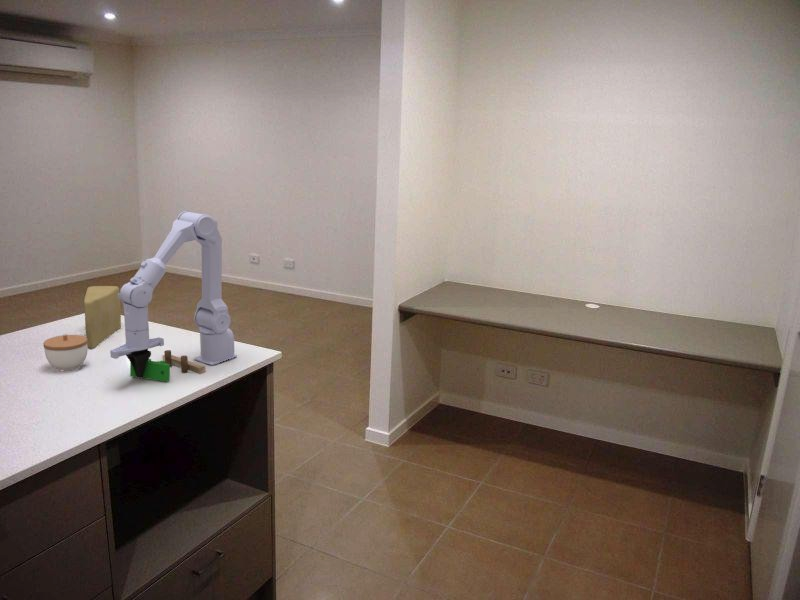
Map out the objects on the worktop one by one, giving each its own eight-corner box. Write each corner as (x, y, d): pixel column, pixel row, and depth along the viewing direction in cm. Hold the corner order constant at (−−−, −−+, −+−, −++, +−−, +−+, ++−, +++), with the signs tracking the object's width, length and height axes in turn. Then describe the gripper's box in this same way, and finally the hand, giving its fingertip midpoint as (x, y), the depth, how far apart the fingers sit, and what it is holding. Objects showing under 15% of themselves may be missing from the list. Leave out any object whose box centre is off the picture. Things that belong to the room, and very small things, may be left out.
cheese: (108, 349, 185) (104, 301, 181) (73, 350, 182) (68, 302, 178) (122, 327, 205) (119, 284, 202) (91, 328, 203) (87, 284, 199)
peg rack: (168, 359, 178) (167, 344, 177) (205, 372, 170) (204, 356, 169) (155, 363, 175) (154, 348, 174) (192, 376, 167) (192, 361, 165)
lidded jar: (71, 375, 163) (68, 342, 161) (36, 371, 165) (33, 338, 163) (98, 362, 173) (95, 331, 171) (65, 358, 175) (62, 327, 173)
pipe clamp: (175, 378, 165) (175, 362, 164) (167, 381, 161) (167, 365, 161) (138, 373, 167) (139, 356, 167) (130, 376, 164) (130, 359, 163)
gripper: (151, 319, 166) (153, 366, 170) (101, 331, 154) (105, 381, 158) (168, 324, 163) (170, 372, 166) (118, 336, 151) (121, 387, 154)
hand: (139, 377), depth 162 cm, fingers closed
